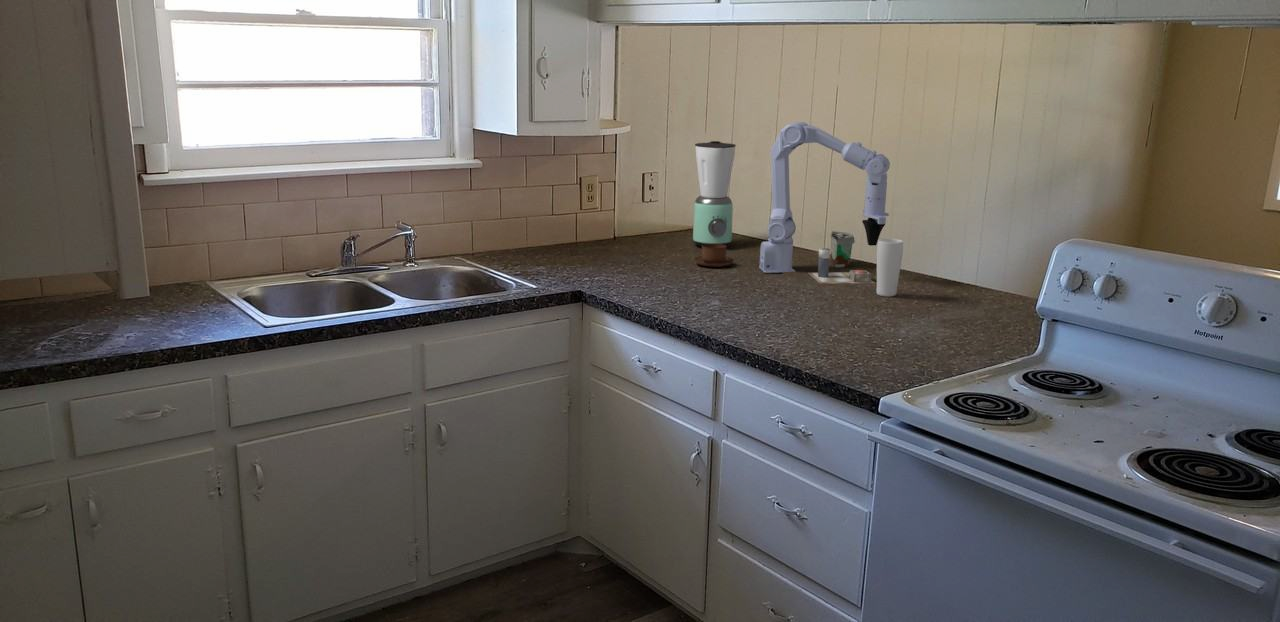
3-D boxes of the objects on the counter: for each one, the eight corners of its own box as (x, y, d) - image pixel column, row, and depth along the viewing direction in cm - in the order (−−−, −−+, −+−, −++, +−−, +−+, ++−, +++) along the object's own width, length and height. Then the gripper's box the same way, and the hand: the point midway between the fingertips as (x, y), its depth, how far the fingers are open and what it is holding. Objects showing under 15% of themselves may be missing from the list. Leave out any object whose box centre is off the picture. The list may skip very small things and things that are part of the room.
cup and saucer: (688, 262, 307) (689, 243, 305) (724, 260, 310) (725, 241, 308) (701, 270, 296) (702, 250, 294) (739, 268, 299) (739, 248, 297)
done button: (856, 279, 280) (856, 272, 280) (853, 276, 283) (853, 270, 283) (866, 279, 280) (867, 272, 280) (863, 276, 283) (863, 269, 283)
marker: (819, 277, 284) (820, 250, 282) (816, 275, 287) (817, 248, 285) (829, 277, 284) (831, 250, 282) (826, 275, 287) (828, 248, 285)
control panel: (820, 285, 277) (820, 275, 277) (807, 274, 291) (808, 264, 290) (875, 284, 279) (876, 274, 278) (860, 274, 292) (860, 264, 292)
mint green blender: (738, 250, 326) (742, 143, 317) (699, 251, 323) (702, 143, 314) (722, 240, 344) (725, 138, 335) (685, 240, 341) (687, 138, 332)
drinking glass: (884, 298, 263) (889, 243, 259) (868, 293, 269) (872, 239, 265) (904, 296, 266) (908, 241, 262) (887, 291, 272) (891, 237, 268)
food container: (856, 271, 297) (858, 238, 294) (836, 270, 297) (838, 238, 294) (848, 262, 309) (851, 231, 306) (829, 262, 309) (831, 231, 306)
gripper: (897, 201, 273) (894, 249, 276) (881, 194, 287) (877, 240, 290) (873, 201, 272) (869, 249, 276) (857, 194, 286) (854, 240, 290)
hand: (872, 245), depth 283 cm, fingers closed
